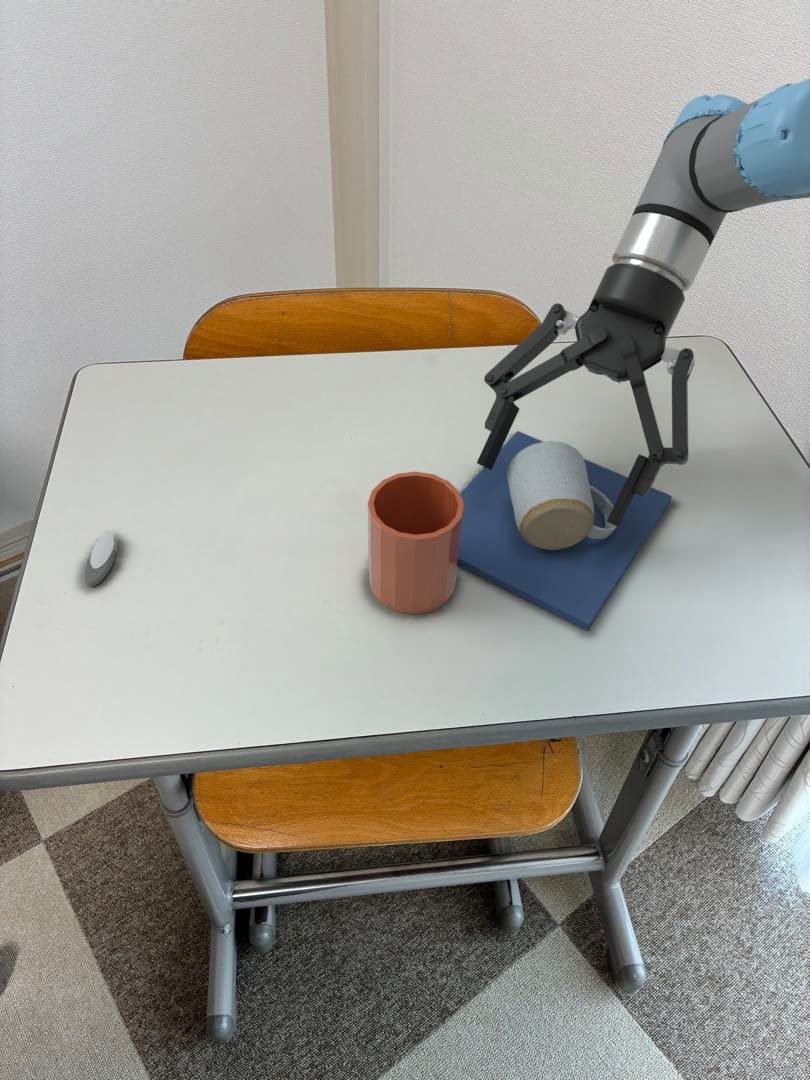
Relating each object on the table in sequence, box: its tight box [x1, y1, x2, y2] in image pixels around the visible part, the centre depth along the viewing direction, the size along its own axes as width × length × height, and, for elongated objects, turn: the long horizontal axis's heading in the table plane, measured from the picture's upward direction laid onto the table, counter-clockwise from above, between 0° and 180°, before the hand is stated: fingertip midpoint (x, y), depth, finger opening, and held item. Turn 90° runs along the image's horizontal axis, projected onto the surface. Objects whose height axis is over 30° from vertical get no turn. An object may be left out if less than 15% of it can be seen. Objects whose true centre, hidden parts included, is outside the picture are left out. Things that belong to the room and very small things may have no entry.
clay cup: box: [367, 471, 464, 615], centre depth 71 cm, size 8×8×10 cm
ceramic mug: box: [507, 440, 617, 550], centre depth 76 cm, size 11×8×8 cm
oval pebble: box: [84, 530, 118, 587], centre depth 75 cm, size 6×2×1 cm, turn 174°
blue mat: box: [458, 430, 673, 631], centre depth 79 cm, size 18×20×1 cm
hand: (545, 494), depth 74 cm, fingers open, 13 cm apart
